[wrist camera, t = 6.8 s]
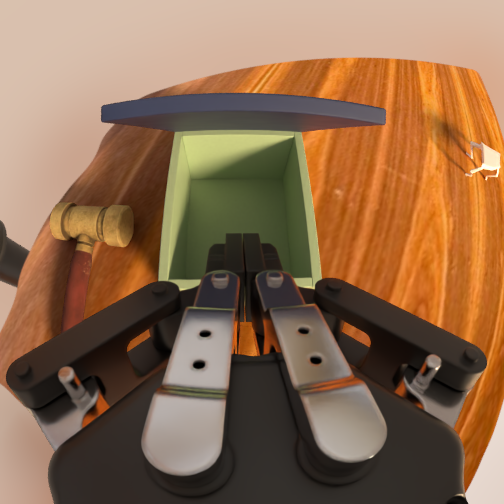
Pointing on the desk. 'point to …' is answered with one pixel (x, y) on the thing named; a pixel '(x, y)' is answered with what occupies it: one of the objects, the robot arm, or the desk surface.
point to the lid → (241, 113)
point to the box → (237, 201)
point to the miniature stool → (486, 159)
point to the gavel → (87, 246)
